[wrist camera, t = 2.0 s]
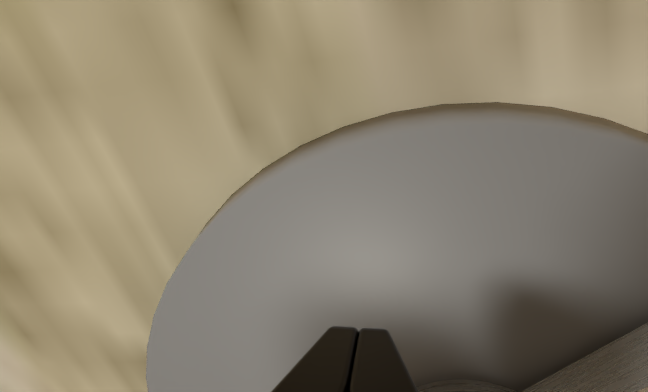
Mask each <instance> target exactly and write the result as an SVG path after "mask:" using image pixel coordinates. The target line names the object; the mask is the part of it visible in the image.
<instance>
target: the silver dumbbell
mask: <svg viewBox="0 0 648 392" xmlns="http://www.w3.org/2000/svg"><path fill="white" fill-rule="evenodd" d="M416 388H417V390H418V392H517V391H515V390H513V389H510V388H508V387H505V386H502V385H498V384H494V383H490V382H484V381H477V380H461V379H460V380H445V381H438V382H433V383H429V384H425V385H421V386H419V387H416ZM521 392H648V323H646V324H644V325H642V326H641V327H639V328H637V329H635V330H633V331H631V332H630V333H628V334H626V335H624V336H622V337H620V338H619V339H617V340H615V341H613V342H611V343H609V344H608V345H606V346H604V347H602V348H600V349H598V350H596V351H595V352H593V353H591V354H589V355H587V356H585V357H584V358H582V359H580V360H578V361H576V362H574V363H573V364H571V365H569V366H567V367H565V368H563V369H562V370H560V371H558V372H556V373H554V374H552V375H550V376H549V377H547V378H545V379H543V380H541V381H539V382H538V383H536V384H534V385H532V386H530V387H528V388H527V389H525V390H523V391H521Z"/></svg>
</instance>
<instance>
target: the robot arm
mask: <svg viewBox="0 0 648 392" xmlns="http://www.w3.org/2000/svg"><path fill="white" fill-rule="evenodd" d="M271 392H418V390H417V388H416V386H415V384H414V382H413V380H412V378H411V375H410V373H409V371H408V369H407V367H406V365H405V363H404V361H403V359H402V357H401V355H400V353H399V351H398V349H397V347H396V345H395V343H394V341H393V339H392V337H391V335H390V333H389V331H388V330H386V329H383V328H361V329H360V331H358V329H357V328H356V327H346V326H332V327H330V328H328V329H327V331H326V332H325V333H324V334H323V335H322V336H321V337H320V338H319V339H318V340H317V342H316V343H315V344H314V345H313V346H312V347H311V348H310V349H309V350H308V351H307V353H306V354H305V355H304V356H303V357H302V358H301V359H300V360H299V361H298V363H297V364H296V365H295V366H294V367H293V368H292V369H291V370H290V371H289V372H288V374H287V375H286V376H285V377H284V378H283V379H282V380H281V381H280V382H279V383H278V385H277V386H276V387H275V388H274V389H273V390H272V391H271Z"/></svg>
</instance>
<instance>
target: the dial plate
mask: <svg viewBox="0 0 648 392" xmlns="http://www.w3.org/2000/svg"><path fill="white" fill-rule="evenodd" d="M646 323H648V134H646V133H643V132H640V131H638V130H635V129H632V128H629V127H626V126H624V125H621V124H618V123H615V122H613V121H610V120H607V119H604V118H599V117H595V116H590V115H586V114H581V113H576V112H572V111H567V110H562V109H558V108H553V107H545V106H533V105H522V104H510V103H499V102H492V103H465V104H442V105H436V106H429V107H423V108H417V109H411V110H405V111H399V112H392V113H388V114H385V115H382V116H378V117H375V118H371V119H368V120H365V121H361V122H358V123H354V124H351V125H348V126H344V127H342V128H339V129H337V130H335V131H333V132H330V133H328V134H326V135H324V136H321V137H319V138H317V139H315V140H312V141H310V142H308V143H306V144H303V145H301V146H299V147H298V148H296V149H294V150H293V151H291V152H289V153H288V154H286V155H285V156H283V157H281V158H280V159H278V160H276V161H275V162H273V163H272V164H270V165H268V166H267V167H265V168H263V169H262V170H261V171H260V172H259V173H257V174H256V175H255V176H254V177H253V178H251V179H250V180H249V181H248V182H247V183H245V184H244V185H243V186H242V187H241V188H239V189H238V190H237V191H236V192H235V193H233V194H232V195H231V196H230V198H229V199H228V200H227V201H226V202H225V203H224V204H223V205H222V207H221V208H220V209H219V210H218V211H217V212H216V213H215V215H214V216H213V217H212V218H211V219H210V220H209V221H208V222H207V224H206V225H205V227H204V228H203V230H202V231H201V232H200V234H199V235H198V237H197V238H196V240H195V241H194V242H193V244H192V245H191V247H190V248H189V250H188V251H187V252H186V254H185V256H184V257H183V259H182V260H181V262H180V264H179V265H178V267H177V268H176V270H175V272H174V273H173V275H172V276H171V278H170V279H169V281H168V283H167V285H166V287H165V290H164V292H163V294H162V297H161V299H160V302H159V304H158V307H157V309H156V312H155V314H154V318H153V322H152V327H151V332H150V336H149V341H148V346H147V368H146V380H147V388H148V392H271V391H272V390H273V389H274V388H275V387H276V386H277V385H278V383H279V382H280V381H281V380H282V379H283V378H284V377H285V376H286V375H287V374H288V372H289V371H290V370H291V369H292V368H293V367H294V366H295V365H296V364H297V363H298V361H299V360H300V359H301V358H302V357H303V356H304V355H305V354H306V353H307V351H308V350H309V349H310V348H311V347H312V346H313V345H314V344H315V343H316V342H317V340H318V339H319V338H320V337H321V336H322V335H323V334H324V333H325V332H326V331H327V329H328V328H330V327H332V326H346V327H356V328H357V329H358V331H360V329H361V328H383V329H386V330H388V331H389V333H390V335H391V337H392V339H393V341H394V343H395V345H396V347H397V349H398V351H399V353H400V355H401V357H402V359H403V361H404V363H405V365H406V367H407V369H408V371H409V373H410V375H411V378H412V380H413V382H414V384H415V386H416V387H419V386H421V385H425V384H429V383H433V382H438V381H445V380H460V379H461V380H477V381H484V382H490V383H494V384H498V385H502V386H505V387H508V388H510V389H513V390H515V391H517V392H521V391H523V390H525V389H527V388H528V387H530V386H532V385H534V384H536V383H538V382H539V381H541V380H543V379H545V378H547V377H549V376H550V375H552V374H554V373H556V372H558V371H560V370H562V369H563V368H565V367H567V366H569V365H571V364H573V363H574V362H576V361H578V360H580V359H582V358H584V357H585V356H587V355H589V354H591V353H593V352H595V351H596V350H598V349H600V348H602V347H604V346H606V345H608V344H609V343H611V342H613V341H615V340H617V339H619V338H620V337H622V336H624V335H626V334H628V333H630V332H631V331H633V330H635V329H637V328H639V327H641V326H642V325H644V324H646Z"/></svg>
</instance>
